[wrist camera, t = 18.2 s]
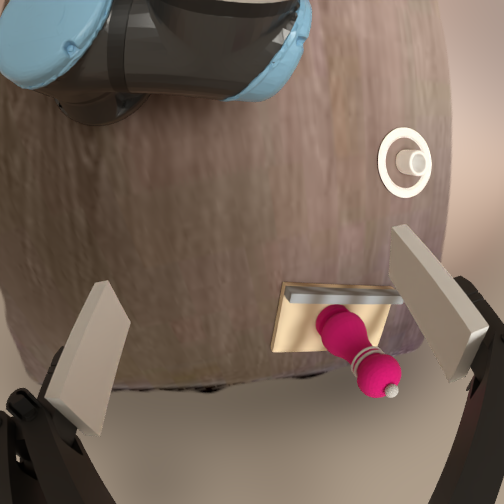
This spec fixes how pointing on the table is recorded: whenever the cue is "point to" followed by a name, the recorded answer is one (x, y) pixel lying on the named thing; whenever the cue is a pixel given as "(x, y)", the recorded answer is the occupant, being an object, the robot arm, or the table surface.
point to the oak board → (318, 298)
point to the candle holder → (406, 162)
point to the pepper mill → (358, 351)
